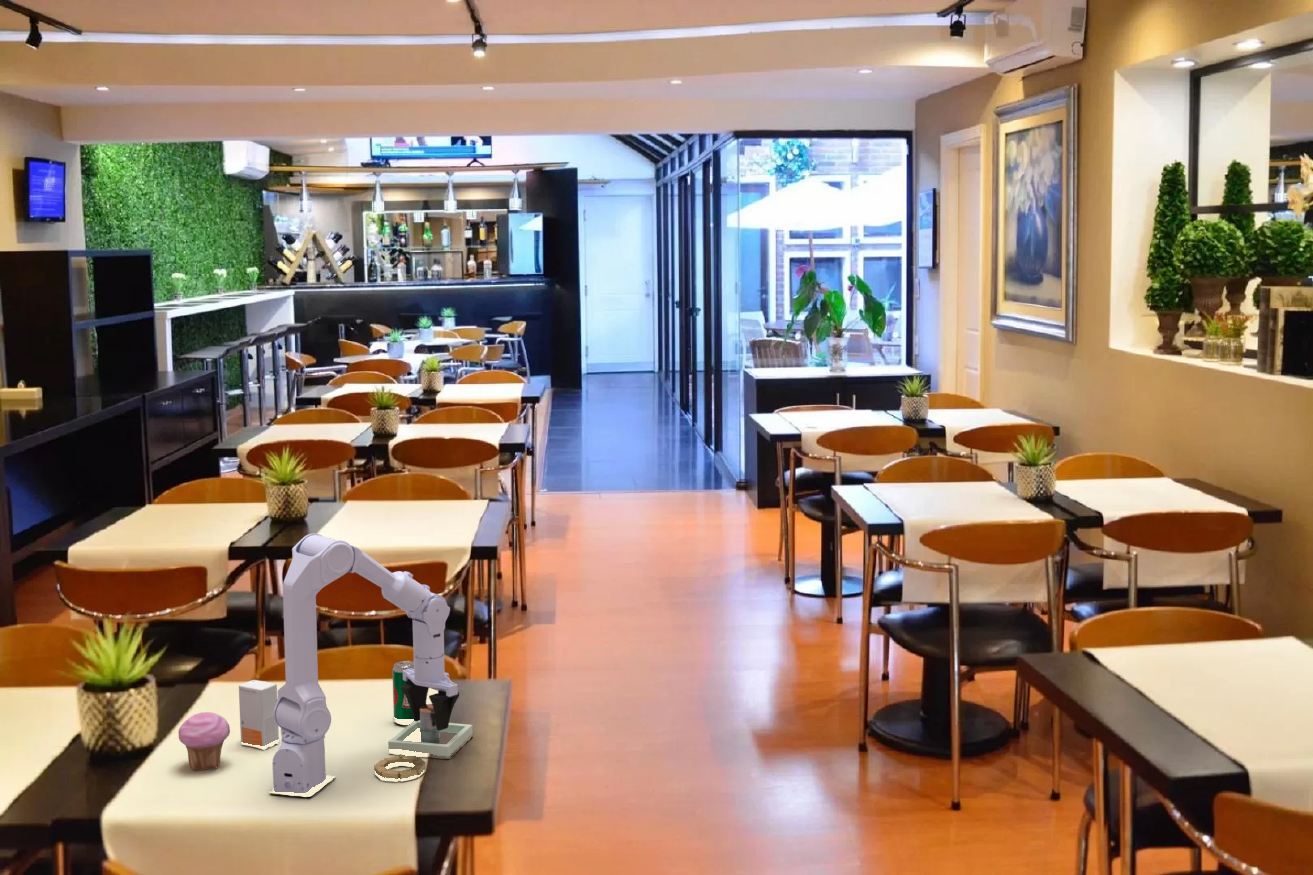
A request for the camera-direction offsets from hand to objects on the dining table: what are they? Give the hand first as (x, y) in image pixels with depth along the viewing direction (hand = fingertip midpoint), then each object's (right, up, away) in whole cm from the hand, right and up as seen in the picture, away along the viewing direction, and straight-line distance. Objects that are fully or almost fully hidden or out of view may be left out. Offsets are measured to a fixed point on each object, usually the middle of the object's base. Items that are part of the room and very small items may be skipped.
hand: (430, 724), depth 253 cm
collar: (-3, -6, -13) cm, 15 cm away
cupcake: (-40, -6, -9) cm, 41 cm away
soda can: (-7, -3, +13) cm, 16 cm away
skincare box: (-33, -4, +1) cm, 33 cm away
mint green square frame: (0, -4, +1) cm, 4 cm away
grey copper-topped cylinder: (0, -4, 0) cm, 4 cm away
